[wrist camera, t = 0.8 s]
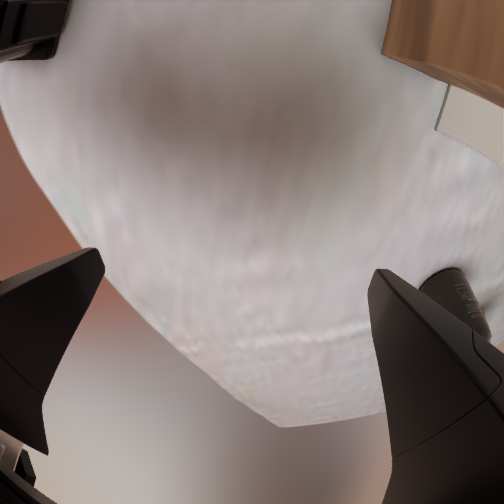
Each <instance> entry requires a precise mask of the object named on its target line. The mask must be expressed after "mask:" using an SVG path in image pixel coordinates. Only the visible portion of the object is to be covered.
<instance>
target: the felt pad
mask: <svg viewBox="0 0 504 504" xmlns="http://www.w3.org/2000/svg"><path fill="white" fill-rule="evenodd" d="M435 130H436V131H438V132H440V133H442V134H444V135H446V136H448V137H450V138H452V139H454V140H456V141H458V142H460V143H462V144H464V145H466V146H468V147H470V148H471V149H473V150H475V151H477V152H478V153H480V154H482V155H484V156H485V157H487V158H489V159H490V160H492V161H494V162H495V163H497V164H498V165H500V166H501V167H503V168H504V109H503V108H501V107H499V106H497V105H495V104H493V103H491V102H489V101H487V100H485V99H483V98H481V97H479V96H477V95H474V94H472V93H470V92H467V91H465V90H463V89H460V88H458V87H455V86H453V85H450V84H449V86H448V89H447V93H446V96H445V99H444V102H443V106H442V109H441V112H440V115H439V118H438V121H437V124H436V127H435Z"/></svg>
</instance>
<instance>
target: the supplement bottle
mask: <svg viewBox="0 0 504 504" xmlns="http://www.w3.org/2000/svg"><path fill="white" fill-rule="evenodd" d="M420 292H422V293H423V294H425V295H426V296H427V297H429V298H430V299H432V300H433V301H434V302H436V303H437V304H439V305H440V306H441V307H443V308H444V309H445V310H447V311H448V312H449V313H451V314H452V315H453V316H455V317H456V318H457V319H459V320H460V321H461V322H463V323H464V324H465V325H467V326H468V327H469V328H470V329H471V330H472V331H475V332H476V333H478V334H479V335H480V336H481V337H483V338H484V339H485V340H487V341H488V342H490V338H491V331H490V328H489V326H488V323H487V321H486V319H485V316H484V314H483V312H482V310H481V308H480V305H479V303H478V301H477V299H476V297H475V295H474V293H473V291H472V289H471V287H470V285H469V283H468V281H467V279H466V278H465V276H464V274H463V273H462V272H461V271H459V270H455V269H450V270H445V271H442V272H440V273H438V274H436V275H434V276H433V277H431V278H430V279H429V280H428V281H427V282H426V283H425V284H424V285H423V286H422V287H421V289H420Z"/></svg>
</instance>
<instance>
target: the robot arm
mask: <svg viewBox="0 0 504 504" xmlns="http://www.w3.org/2000/svg"><path fill="white" fill-rule="evenodd" d="M68 2H69V0H0V63H2V62H5V61H12V60H47V59H51V58H52V57H53V56H54V55H55V51H56V47H57V42H58V38H59V33H60V29H61V25H62V22H63V18H64V15H65V11H66V8H67V5H68ZM49 51H50V54H49V55H48V52H49ZM104 274H105V265H104V263H103V260H102V258H101V255H100V253H99V251H98V249H96V248H90V247H88V248H85V249H82V250H79V251H76V252H73V253H71V254H68V255H65V256H63V257H60V258H57V259H55V260H52V261H50V262H47V263H44V264H42V265H39V266H36V267H34V268H31V269H29V270H26V271H24V272H21V273H19V274H17V275H14V276H12V277H10V278H7V279H5V280H3V281H0V504H57V503H55V502H54V501H52V500H50V499H49V498H48V497H46V496H45V495H44V494H42V493H41V492H39V491H38V490H37V489H35V488H34V483H35V480H36V476H35V473H34V470H33V467H32V465H31V461H30V458H29V455H28V452H27V451H26V450H25V449H23V448H22V447H23V444H26V445H28V446H29V447H31V448H34V449H35V450H37V451H39V452H41V453H43V454H45V455H48V453H49V451H48V446H47V440H46V434H45V429H44V422H43V415H42V403H43V399H44V396H45V394H46V392H47V390H48V387H49V385H50V383H51V380H52V378H53V376H54V374H55V371H56V369H57V367H58V365H59V363H60V361H61V359H62V356H63V355H64V353H65V351H66V348H67V346H68V345H69V343H70V340H71V339H72V337H73V335H74V333H75V331H76V329H77V327H78V325H79V324H80V322H81V320H82V318H83V316H84V315H85V313H86V311H87V309H88V307H89V305H90V304H91V301H92V299H93V297H94V295H95V293H96V291H97V288H98V286H99V284H100V282H101V280H102V278H103V276H104ZM368 304H369V312H370V321H371V330H372V337H373V342H374V347H375V351H376V356H377V361H378V366H379V371H380V376H381V382H382V387H383V393H384V399H385V406H386V412H387V419H388V427H389V435H390V444H391V453H392V473H391V477H390V481H389V484H388V487H387V490H386V493H385V496H384V499H383V502H382V504H504V353H502V352H501V351H499V350H498V349H497V348H496V347H494V346H493V345H492V344H490V343H489V342H488V341H487V340H485V339H484V338H483V337H481V336H480V335H479V334H478V333H476V332H475V331H472V330H471V329H470V328H469V327H468V326H467V325H465V324H464V323H463V322H461V321H460V320H459V319H457V318H456V317H455V316H453V315H452V314H451V313H449V312H448V311H447V310H445V309H444V308H443V307H441V306H440V305H439V304H437V303H436V302H434V301H433V300H432V299H430V298H429V297H427V296H426V295H425V294H423V293H422V292H420V291H419V290H418V289H416V288H415V287H413V286H412V285H410V284H409V283H408V282H406V281H405V280H403V279H402V278H400V277H399V276H397V275H396V274H394V273H393V272H391V271H390V270H388V269H376V270H375V272H374V274H373V277H372V280H371V283H370V285H369V288H368Z"/></svg>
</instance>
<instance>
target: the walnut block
mask: <svg viewBox="0 0 504 504" xmlns="http://www.w3.org/2000/svg"><path fill="white" fill-rule="evenodd" d="M381 54H382V55H385V56H387V57H389V58H392V59H394V60H397V61H399V62H401V63H403V64H406V65H408V66H410V67H412V68H414V69H416V70H419V71H421V72H423V73H425V74H427V75H428V76H430V77H432V78H434V79H436V80H439V81H442V82H445V83H447V84H450V85H453V86H455V87H458V88H460V89H463V90H465V91H467V92H470V93H472V94H474V95H477V96H479V97H481V98H483V99H485V100H487V101H489V102H491V103H493V104H495V105H497V106H499V107H501V108H503V109H504V0H392V5H391V10H390V15H389V20H388V25H387V30H386V35H385V39H384V44H383V48H382V52H381Z"/></svg>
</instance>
